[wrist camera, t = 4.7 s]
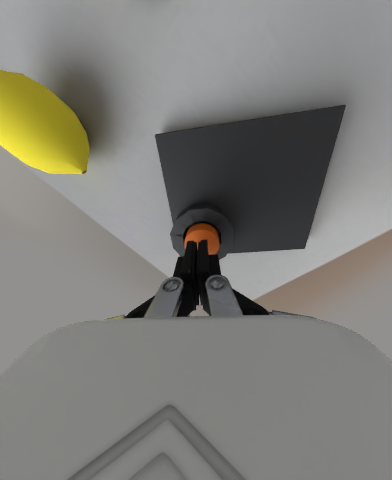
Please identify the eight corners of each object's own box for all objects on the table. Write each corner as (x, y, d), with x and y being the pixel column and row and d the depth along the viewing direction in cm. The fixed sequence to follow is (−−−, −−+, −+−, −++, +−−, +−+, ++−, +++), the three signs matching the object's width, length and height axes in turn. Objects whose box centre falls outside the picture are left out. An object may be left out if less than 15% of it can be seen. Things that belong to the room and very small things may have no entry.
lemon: (20, 119, 13) (-88, 95, 8) (50, 66, 11) (-67, -5, 6) (88, 187, 15) (36, 199, 11) (120, 152, 14) (75, 148, 9)
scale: (331, 110, 11) (369, 95, 9) (297, 242, 17) (314, 257, 14) (158, 136, 13) (147, 130, 10) (181, 250, 19) (177, 265, 16)
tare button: (217, 221, 14) (218, 228, 12) (218, 249, 15) (220, 258, 14) (183, 224, 14) (181, 230, 12) (188, 251, 15) (187, 260, 14)
